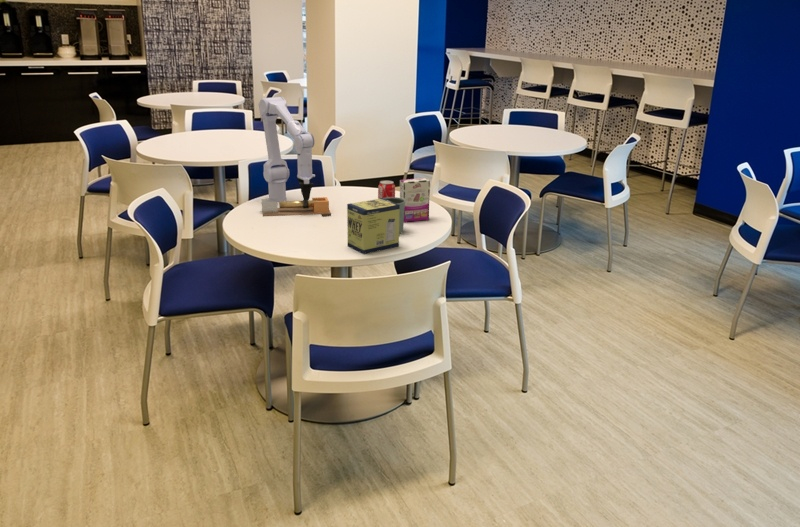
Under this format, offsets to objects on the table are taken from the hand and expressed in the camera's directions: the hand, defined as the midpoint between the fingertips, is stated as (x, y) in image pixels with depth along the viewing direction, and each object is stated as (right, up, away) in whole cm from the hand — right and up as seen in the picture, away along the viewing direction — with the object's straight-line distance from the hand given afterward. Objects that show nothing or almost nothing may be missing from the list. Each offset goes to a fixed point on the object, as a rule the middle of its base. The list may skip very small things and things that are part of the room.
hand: (305, 197), depth 276 cm
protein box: (+29, -21, -36) cm, 51 cm away
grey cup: (+35, -15, -18) cm, 42 cm away
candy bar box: (+44, -10, -4) cm, 45 cm away
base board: (-4, -6, +1) cm, 8 cm away
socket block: (+6, -6, +3) cm, 9 cm away
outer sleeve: (-14, -6, -1) cm, 15 cm away
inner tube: (-3, -4, +1) cm, 5 cm away
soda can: (+33, -5, +9) cm, 34 cm away
